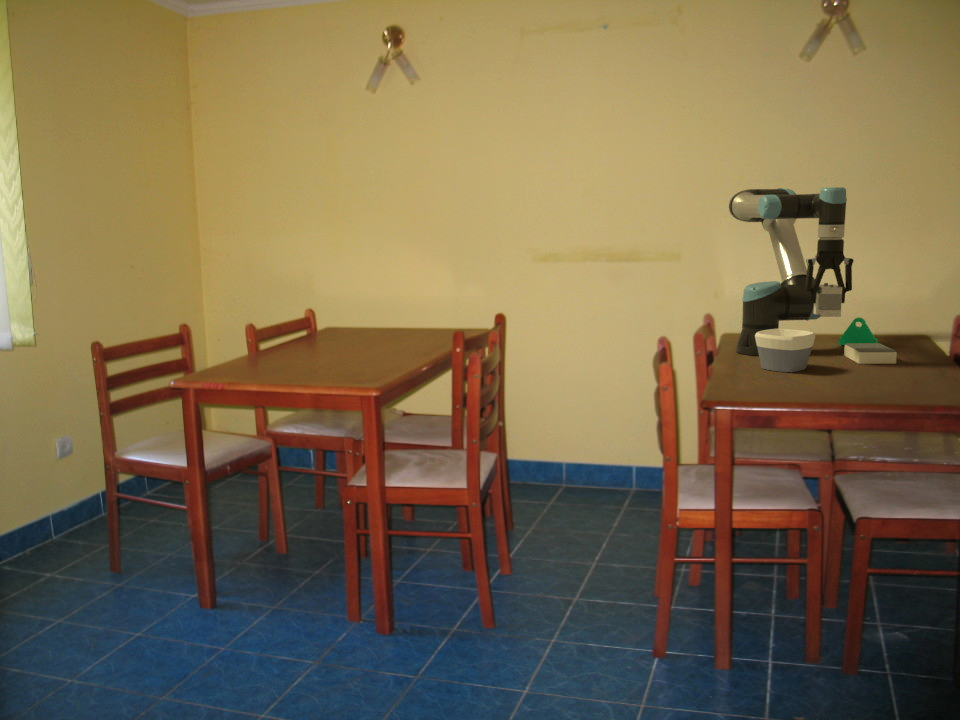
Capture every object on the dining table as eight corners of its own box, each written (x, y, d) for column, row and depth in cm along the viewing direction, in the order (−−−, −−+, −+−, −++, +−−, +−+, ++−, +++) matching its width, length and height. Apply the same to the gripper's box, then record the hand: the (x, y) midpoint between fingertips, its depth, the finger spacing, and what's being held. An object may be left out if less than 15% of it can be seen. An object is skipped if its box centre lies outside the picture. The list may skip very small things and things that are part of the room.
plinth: (859, 363, 276) (859, 350, 276) (844, 355, 291) (844, 343, 290) (896, 363, 275) (896, 350, 274) (879, 355, 290) (879, 343, 289)
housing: (820, 316, 274) (822, 285, 272) (813, 313, 282) (814, 282, 280) (840, 316, 273) (842, 285, 271) (833, 313, 281) (834, 282, 279)
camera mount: (877, 346, 309) (879, 316, 307) (876, 349, 302) (878, 319, 300) (840, 344, 314) (841, 315, 312) (838, 347, 307) (839, 317, 306)
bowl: (746, 369, 271) (748, 332, 269) (775, 362, 281) (776, 327, 279) (792, 375, 260) (794, 337, 258) (820, 368, 269) (822, 332, 268)
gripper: (802, 239, 270) (798, 315, 274) (867, 238, 268) (862, 315, 273) (795, 238, 277) (792, 312, 282) (859, 237, 276) (854, 312, 280)
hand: (827, 313), depth 277 cm, fingers closed on housing, 6 cm apart
